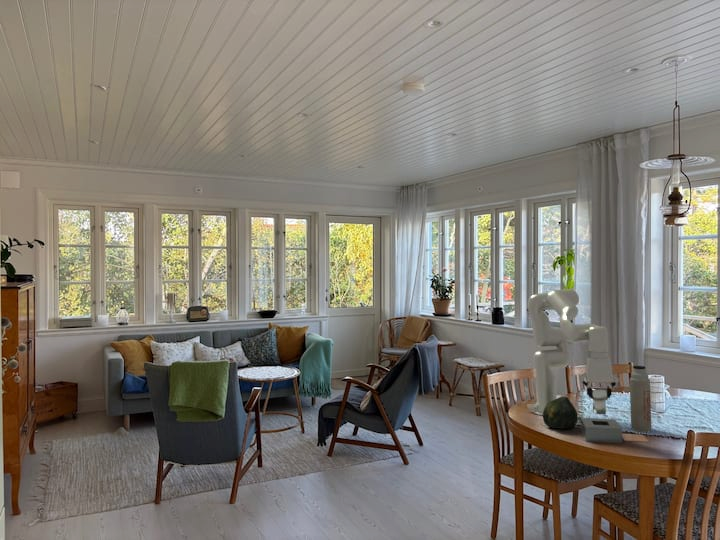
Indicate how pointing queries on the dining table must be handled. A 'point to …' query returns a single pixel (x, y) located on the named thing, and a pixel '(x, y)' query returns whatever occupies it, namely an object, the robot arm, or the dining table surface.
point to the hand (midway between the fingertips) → (599, 396)
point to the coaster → (634, 437)
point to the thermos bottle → (640, 399)
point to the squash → (560, 414)
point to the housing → (601, 430)
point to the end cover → (599, 399)
